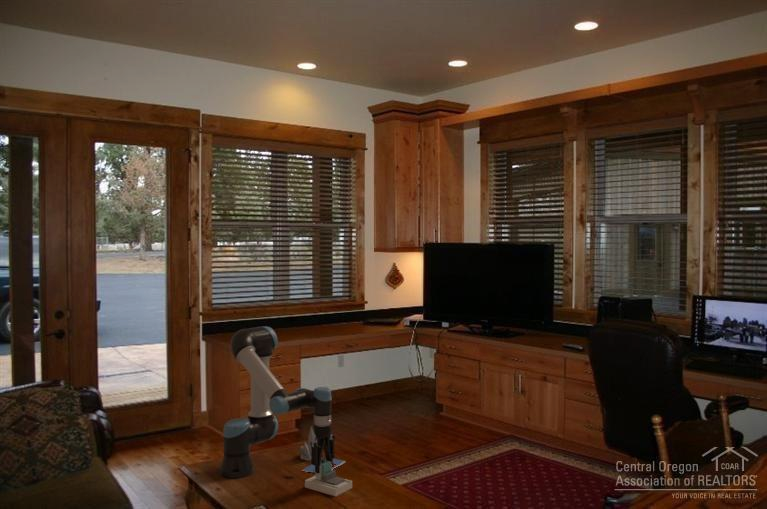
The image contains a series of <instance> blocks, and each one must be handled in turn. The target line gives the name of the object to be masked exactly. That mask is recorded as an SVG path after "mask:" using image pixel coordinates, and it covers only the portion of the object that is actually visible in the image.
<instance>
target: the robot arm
mask: <svg viewBox="0 0 767 509" xmlns="http://www.w3.org/2000/svg"><path fill="white" fill-rule="evenodd" d="M278 340H279V339H278V336H277V334H276V331H275V330H274V329H273V328H272V327H270V326H257V327H249V328H243V329H242V328H241V329H239V330H238V331H236V332H235V333H234V334H233V336H232V337H231V339H230V343H229V344H230V352H231V354H232V356H233V358H234V359H235V361H236V362H238V364H239V363H240V364H241V365H242V366H243V367H244V369H245V370H247V372H248V374H249V375H250V411H249V412H248V413H247V417H239V418H237V417H236V418H233V419H229V420H228V421H226V422H225V423H224V425H223V433H222V436H223V438H222V439H223V457H222V460H221V465H220V467H219V474H220V476H221V477H224V478H228V479H237V478H245V477H247V476H250V475H252V474H253V473H254V472H255V467H254V463H253V459H252V457H251V451H250V450H251V446H254V445H257V444H261V443H265V442H268V441H269V440H272V439H273V438H275V436H276V435H277V433H278V430H279V421H278V420H277V417H276V416H275V415H277V416H279V415H285V414H287V413H291V412H293V411H298V410H300V409H301V410H302V409H304V408H308V409H312V410H313V424H314V426H313V431H314V434H315V435H316V437H315V441H314V442H311V443H310V444H311V460H310V461H311V464H310V465H315V473H316V475H315V476H316V480H318V481H322V465H320V463H321V459H322V458H323V457H322V456H323V453H324V457H325V458H326V460H327V461H330V462H331V461H333V459H335V439H336V435H333V434H332V431H333V430H332V428H333V427H332V426H333V425H332V399H333V398H332V390H331V388H329V387H327V386H319V387H315V388H314V390H312V389H308V388H304V387H299V388H296V389H295V390H294V391H293V392H289V393H288V392H287V390H286V389H285V388H284V387H283V386H282V384H281V383H280V382H279V380H278V379H277V378H276V376H274V374H273V373H272V372H271V370H270V359H271V358H272V357H273V351H274V350H275V349H277V347H278V344H279V343H278ZM319 446H320V447H319Z"/></svg>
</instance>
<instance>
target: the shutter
mask: <svg viewBox="0 0 767 509" xmlns="http://www.w3.org/2000/svg"><path fill="white" fill-rule="evenodd" d="M345 479H346V478H343V477H339V476H337V470H335V469H334V470H332V471H331V472H329V473H327V474H325V475H324V483H328V484H331V485H335V486H336V485H338V484H340V483H342V482H344V481H345Z"/></svg>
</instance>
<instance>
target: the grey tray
mask: <svg viewBox="0 0 767 509" xmlns="http://www.w3.org/2000/svg"><path fill="white" fill-rule="evenodd" d="M344 479H345V481H344V482H342V483H340V484H338V485H336V486H335V485H331V484H328V483H324V482H321V481H318V480H316V475H314V476H311V477H309V478H307V479H305V480H304V488H306V489H310V490H311V491H312V490H313V491H316V492H318V493H319V492H320V493H323V494H327V495H330V496H333V497H338V496H340V495H341V494H344V493H345V492H347V491H349V490H351V489H353V480H350V479H346V478H344Z"/></svg>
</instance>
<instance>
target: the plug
mask: <svg viewBox="0 0 767 509" xmlns="http://www.w3.org/2000/svg"><path fill="white" fill-rule="evenodd" d="M320 465H322V481H321V482H324V475H325V474H327V473H329V472H331V471H333V470H332V464H331V462H330V461H326V460H325V459H324V457H321V463H320ZM314 476H316V473H315V474H314Z"/></svg>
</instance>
